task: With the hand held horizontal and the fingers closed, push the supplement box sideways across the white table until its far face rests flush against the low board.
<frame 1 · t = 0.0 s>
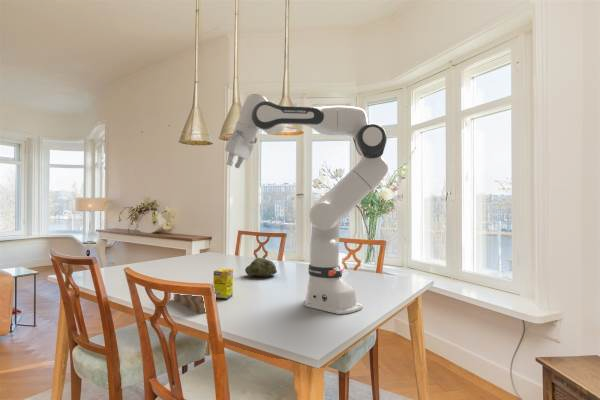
hand: (233, 166, 139), 52 cm above the table, tool tilted 20°, fingers open, 8 cm apart
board: (190, 305, 125), on the table
decorative rock: (261, 277, 177), on the table
supplement box: (222, 298, 136), on the table
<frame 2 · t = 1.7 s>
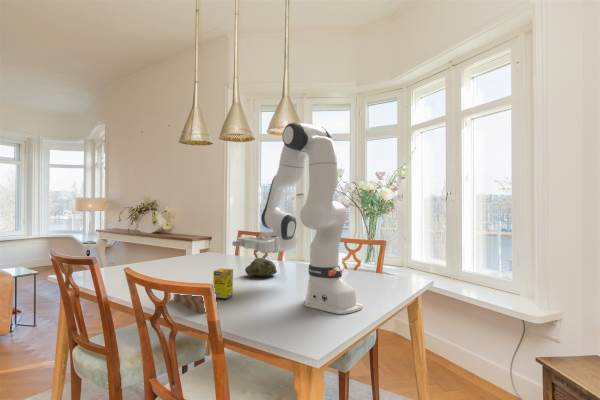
hand: (239, 244, 141), 20 cm above the table, tool horizontal, fingers open, 8 cm apart
nothing on the table moved.
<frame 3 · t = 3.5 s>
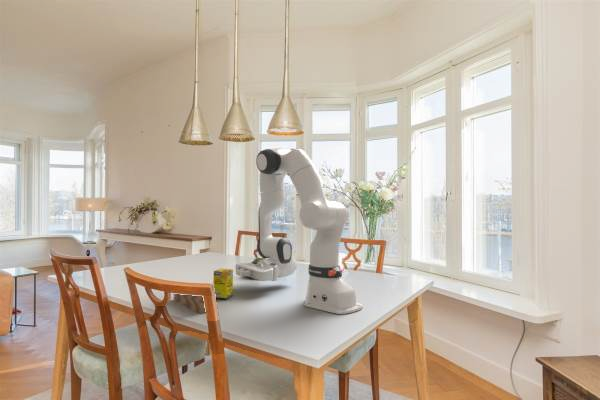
hand: (237, 273, 142), 9 cm above the table, tool horizontal, fingers closed
nothing on the table moved.
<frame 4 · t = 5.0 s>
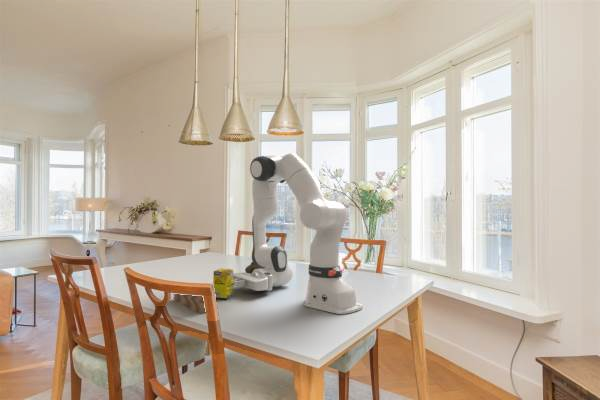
hand: (231, 283, 139), 5 cm above the table, tool horizontal, fingers closed
supplement box: (222, 298, 136), on the table, touching gripper
everything else where it was.
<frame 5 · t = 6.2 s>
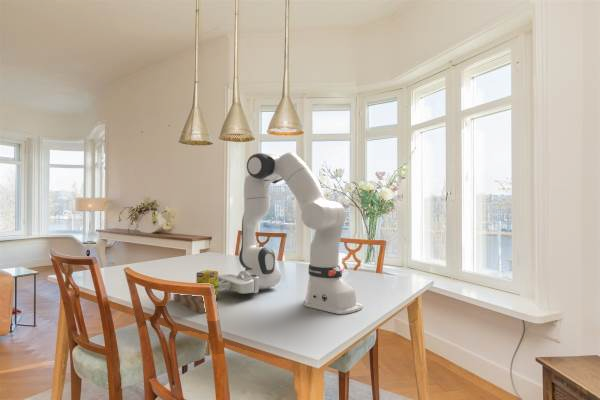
hand: (216, 285, 135), 5 cm above the table, tool horizontal, fingers closed
supplement box: (206, 300, 132), on the table, touching gripper
everything else where it was.
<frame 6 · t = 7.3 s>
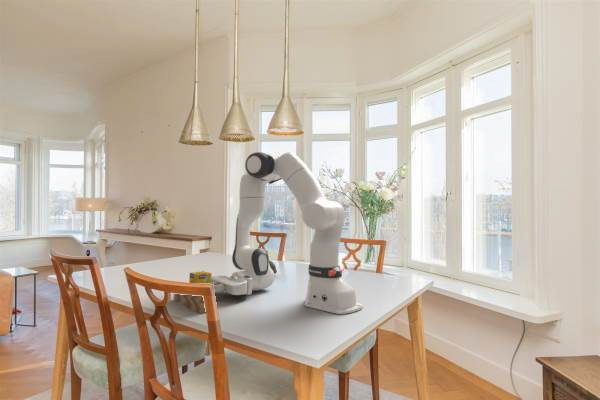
hand: (208, 287, 132), 5 cm above the table, tool horizontal, fingers closed
supplement box: (199, 302, 130), on the table, touching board, gripper
everything else where it was.
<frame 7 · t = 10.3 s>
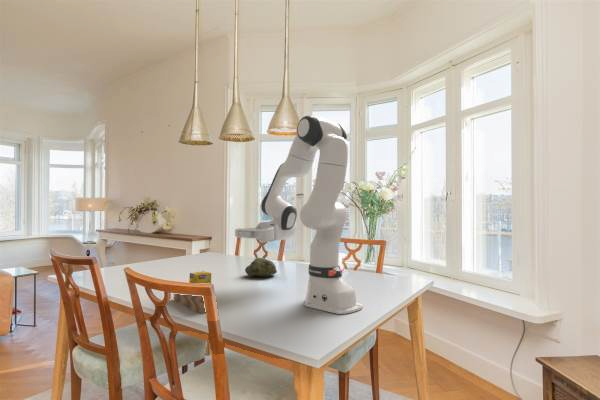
hand: (238, 234, 140), 24 cm above the table, tool horizontal, fingers closed
supplement box: (199, 302, 130), on the table
everything else where it was.
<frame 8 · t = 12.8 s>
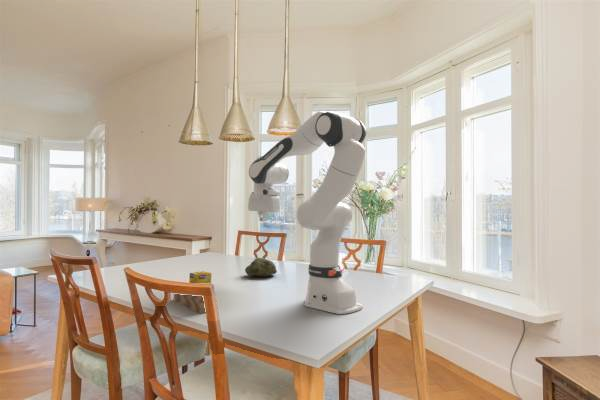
hand: (262, 221, 160), 29 cm above the table, tool pointing down, fingers closed
nothing on the table moved.
at the end: supplement box inside the target area on the table beside the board (2.1 cm from its centre), on the table; supplement box tilted 0° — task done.
